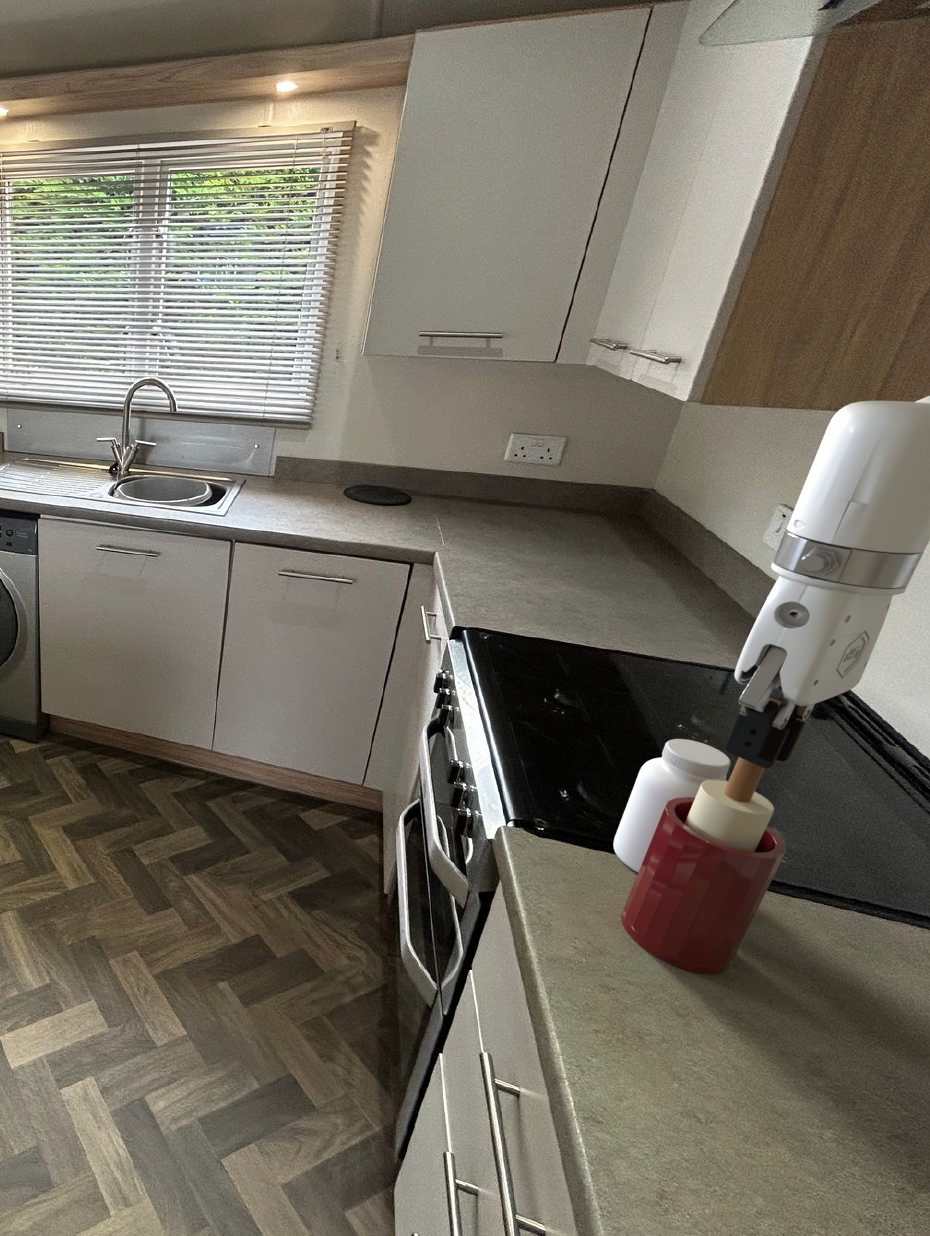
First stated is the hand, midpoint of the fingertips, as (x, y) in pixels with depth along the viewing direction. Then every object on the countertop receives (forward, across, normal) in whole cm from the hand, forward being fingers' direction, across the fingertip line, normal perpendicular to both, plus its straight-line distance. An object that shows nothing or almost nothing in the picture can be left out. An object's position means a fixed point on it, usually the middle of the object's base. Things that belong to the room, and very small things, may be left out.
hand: (756, 754), depth 63 cm
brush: (+12, 0, 0) cm, 12 cm away
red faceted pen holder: (+22, 0, 0) cm, 22 cm away
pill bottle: (+22, +10, +7) cm, 25 cm away
